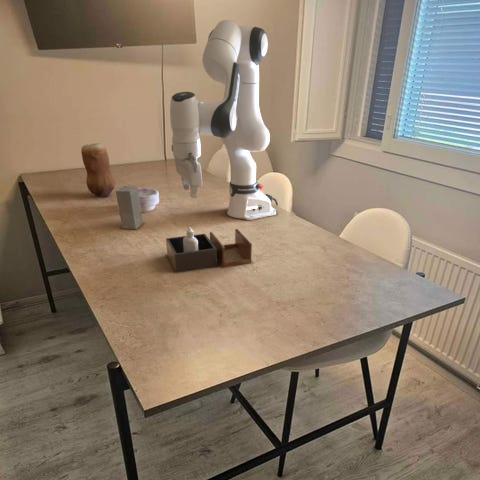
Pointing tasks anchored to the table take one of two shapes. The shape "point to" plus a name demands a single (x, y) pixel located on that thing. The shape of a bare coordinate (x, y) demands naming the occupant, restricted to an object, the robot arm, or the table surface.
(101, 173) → the butternut squash
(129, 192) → the cosmetic box
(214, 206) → the table surface
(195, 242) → the eye dropper bottle
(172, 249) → the dark grey open box
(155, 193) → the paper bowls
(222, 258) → the wooden shelf
